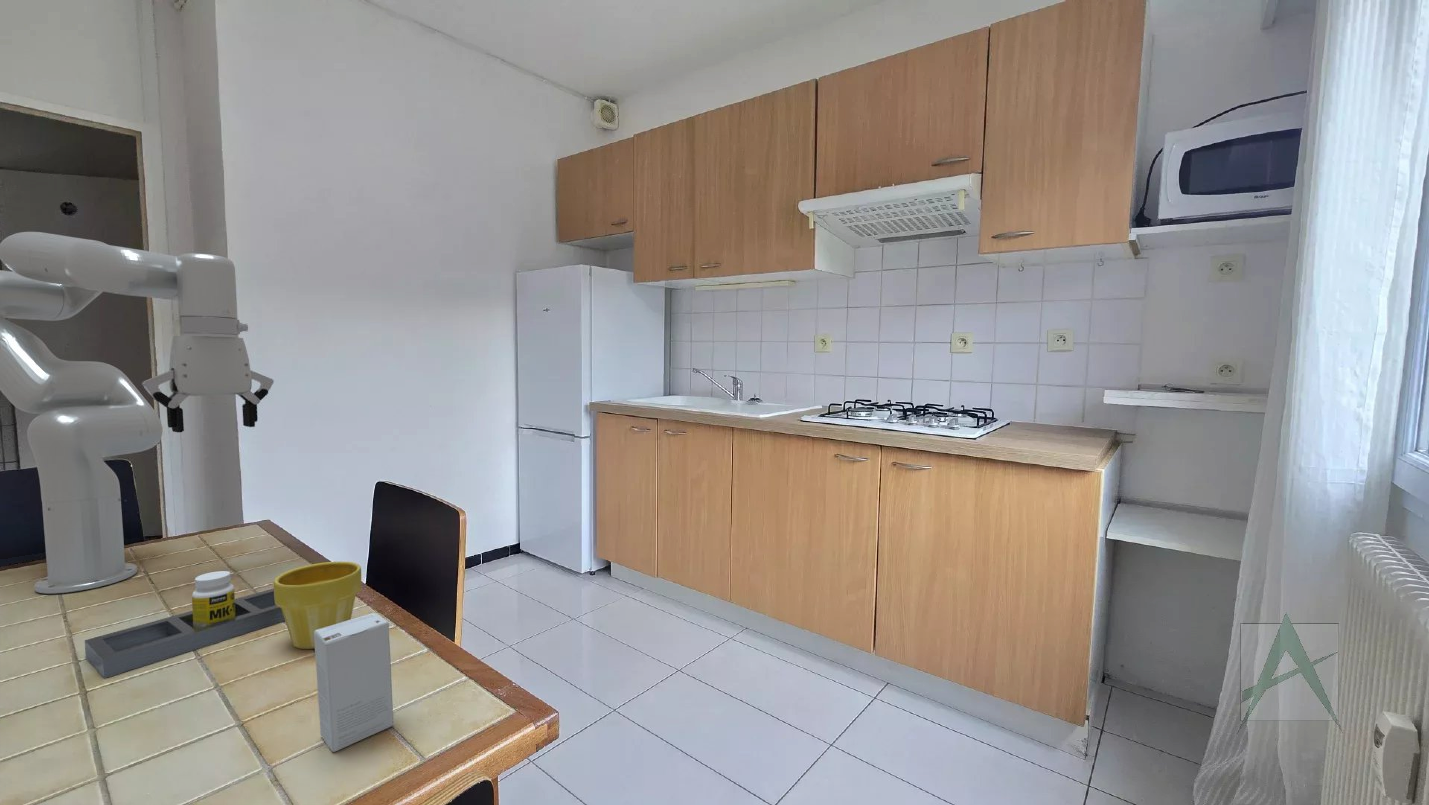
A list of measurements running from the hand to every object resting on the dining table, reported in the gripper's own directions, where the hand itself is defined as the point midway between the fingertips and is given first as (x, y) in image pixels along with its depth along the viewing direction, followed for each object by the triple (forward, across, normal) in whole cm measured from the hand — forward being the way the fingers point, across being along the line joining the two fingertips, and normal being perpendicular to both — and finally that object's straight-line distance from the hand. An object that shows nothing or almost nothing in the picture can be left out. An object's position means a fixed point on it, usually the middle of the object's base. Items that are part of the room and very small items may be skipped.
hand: (215, 429), depth 99 cm
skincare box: (+28, +7, +61) cm, 68 cm away
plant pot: (+28, -1, +34) cm, 44 cm away
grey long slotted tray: (+28, +6, +18) cm, 34 cm away
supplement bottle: (+28, +6, +18) cm, 34 cm away
